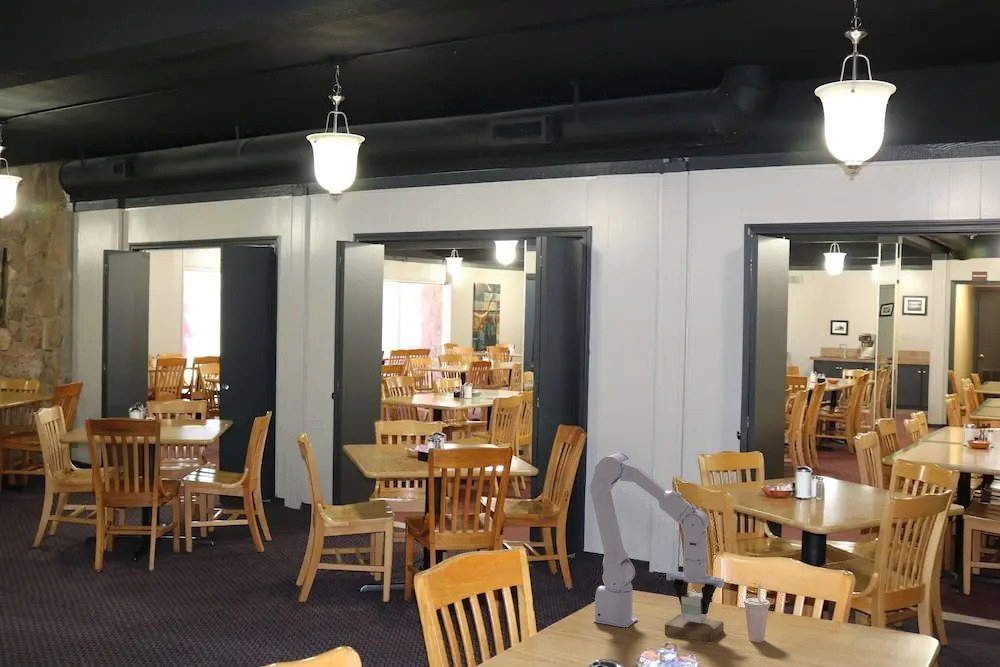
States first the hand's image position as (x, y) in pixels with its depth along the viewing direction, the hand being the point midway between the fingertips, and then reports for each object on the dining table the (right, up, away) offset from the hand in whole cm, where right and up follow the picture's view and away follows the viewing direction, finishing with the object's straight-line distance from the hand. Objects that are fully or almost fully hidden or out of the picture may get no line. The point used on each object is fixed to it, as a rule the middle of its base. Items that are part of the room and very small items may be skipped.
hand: (694, 611), depth 247 cm
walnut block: (0, -6, 0) cm, 6 cm away
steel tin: (0, -2, 0) cm, 2 cm away
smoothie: (+14, -6, -5) cm, 16 cm away
